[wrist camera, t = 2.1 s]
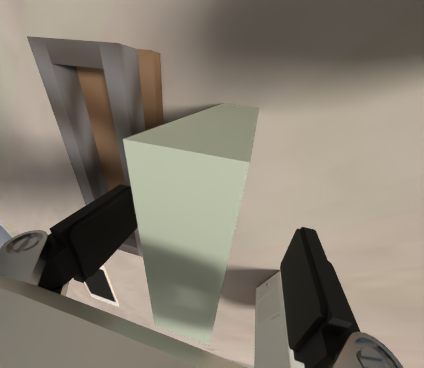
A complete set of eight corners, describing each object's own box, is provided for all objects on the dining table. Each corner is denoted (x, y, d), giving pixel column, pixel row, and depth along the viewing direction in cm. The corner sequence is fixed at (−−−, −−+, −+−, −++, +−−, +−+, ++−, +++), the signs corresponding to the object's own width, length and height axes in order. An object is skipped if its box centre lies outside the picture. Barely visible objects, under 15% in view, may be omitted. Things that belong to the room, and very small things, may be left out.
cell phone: (93, 294, 43) (91, 297, 42) (72, 252, 35) (69, 255, 34) (120, 304, 42) (119, 307, 41) (105, 263, 34) (103, 266, 33)
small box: (255, 286, 25) (250, 399, 16) (279, 268, 22) (291, 394, 13) (303, 313, 25) (325, 440, 16) (334, 299, 22) (383, 445, 13)
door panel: (222, 103, 14) (120, 138, 4) (259, 107, 14) (252, 163, 4) (211, 200, 19) (154, 324, 9) (238, 206, 19) (209, 346, 9)
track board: (58, 45, 15) (14, 35, 13) (159, 53, 14) (134, 44, 11) (109, 225, 26) (92, 241, 24) (169, 242, 25) (157, 261, 22)
